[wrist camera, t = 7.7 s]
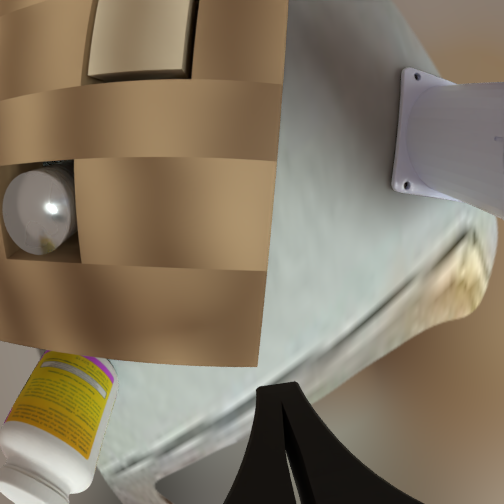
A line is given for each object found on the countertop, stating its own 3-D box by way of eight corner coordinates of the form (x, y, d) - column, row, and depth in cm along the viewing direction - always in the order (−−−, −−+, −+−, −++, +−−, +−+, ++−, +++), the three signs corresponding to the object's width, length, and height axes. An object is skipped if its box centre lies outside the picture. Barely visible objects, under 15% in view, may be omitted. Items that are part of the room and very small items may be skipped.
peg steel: (102, 157, 16) (64, 169, 12) (104, 225, 18) (71, 256, 13) (45, 161, 16) (-1, 174, 11) (49, 225, 17) (8, 253, 13)
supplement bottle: (41, 327, 20) (-39, 453, 8) (119, 347, 21) (67, 502, 9) (53, 387, 23) (3, 503, 11) (122, 405, 24) (91, 537, 12)
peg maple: (199, 19, 14) (191, -16, 9) (193, 85, 15) (181, 69, 11) (128, 22, 14) (99, -7, 9) (121, 87, 15) (87, 75, 10)
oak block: (276, -29, 13) (292, -71, 9) (250, 316, 21) (257, 367, 16) (30, -6, 12) (-10, -27, 7) (32, 302, 20) (-1, 340, 15)
